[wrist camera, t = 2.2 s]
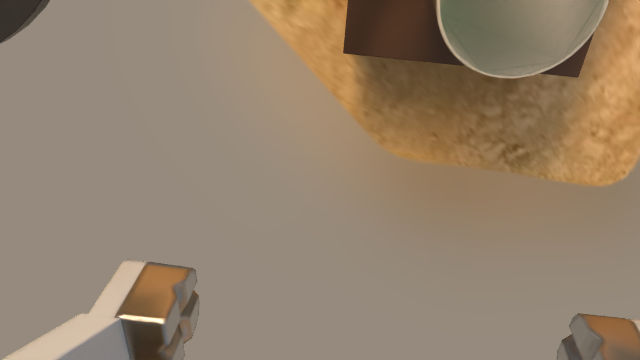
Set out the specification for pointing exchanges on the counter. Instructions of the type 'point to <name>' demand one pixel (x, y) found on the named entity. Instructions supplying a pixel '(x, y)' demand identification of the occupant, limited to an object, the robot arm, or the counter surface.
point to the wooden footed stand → (414, 34)
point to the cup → (516, 32)
